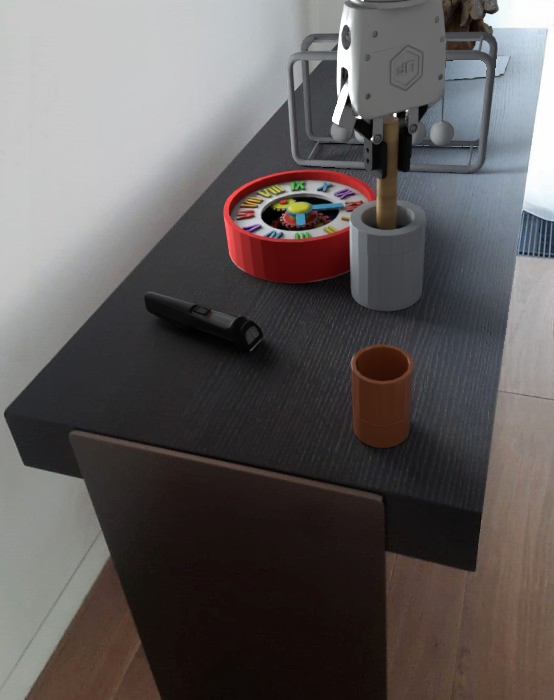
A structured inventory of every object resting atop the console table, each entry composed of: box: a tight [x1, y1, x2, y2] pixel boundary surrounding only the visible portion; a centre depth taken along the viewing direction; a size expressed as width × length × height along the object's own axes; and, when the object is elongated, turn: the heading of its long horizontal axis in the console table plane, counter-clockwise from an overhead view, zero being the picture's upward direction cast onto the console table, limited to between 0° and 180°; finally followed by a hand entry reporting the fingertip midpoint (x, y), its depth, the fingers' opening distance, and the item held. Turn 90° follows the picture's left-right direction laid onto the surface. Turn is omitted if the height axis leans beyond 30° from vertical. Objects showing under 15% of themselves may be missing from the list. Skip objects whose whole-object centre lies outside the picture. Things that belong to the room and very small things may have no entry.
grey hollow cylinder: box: [349, 199, 427, 312], centre depth 81 cm, size 8×8×10 cm
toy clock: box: [223, 169, 377, 284], centre depth 93 cm, size 20×6×20 cm
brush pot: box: [350, 343, 415, 449], centre depth 64 cm, size 5×5×8 cm
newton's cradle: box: [285, 32, 499, 174], centre depth 108 cm, size 30×10×18 cm, turn 74°
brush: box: [376, 115, 399, 230], centre depth 78 cm, size 3×3×19 cm
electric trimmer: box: [143, 291, 264, 352], centre depth 81 cm, size 4×16×3 cm, turn 58°
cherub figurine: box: [441, 0, 500, 61], centre depth 140 cm, size 18×18×18 cm
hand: (387, 169), depth 75 cm, fingers closed on brush, 2 cm apart
